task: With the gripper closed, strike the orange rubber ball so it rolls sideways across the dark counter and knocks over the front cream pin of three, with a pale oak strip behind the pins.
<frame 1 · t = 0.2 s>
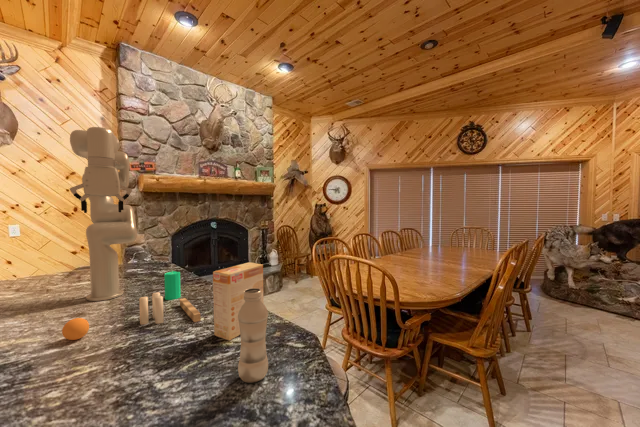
hand: (103, 212, 99), 36 cm above the countertop, tool pointing down, fingers open, 9 cm apart
plastic bottle: (253, 378, 64), on the countertop
front pin: (144, 323, 93), on the countertop
coffeecake box: (240, 329, 89), on the countertop
candle: (172, 298, 118), on the countertop
back wall: (189, 312, 102), on the countertop
ball: (76, 328, 82), on the countertop
back pin near: (159, 322, 94), on the countertop
back pin far: (156, 317, 97), on the countertop
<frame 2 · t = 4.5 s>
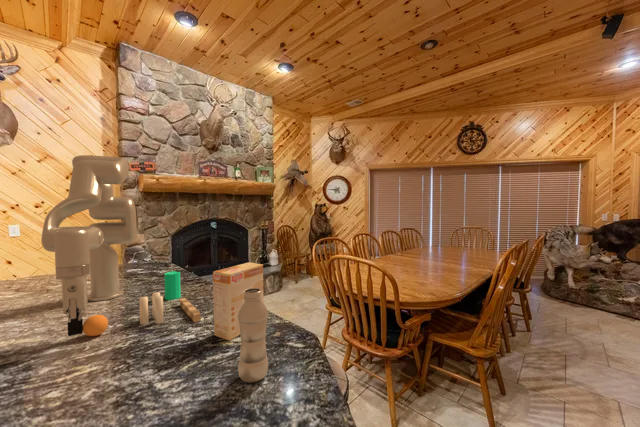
hand: (75, 333, 82), 2 cm above the countertop, tool pointing down, fingers closed
ball: (95, 325, 84), on the countertop
everything else where it was.
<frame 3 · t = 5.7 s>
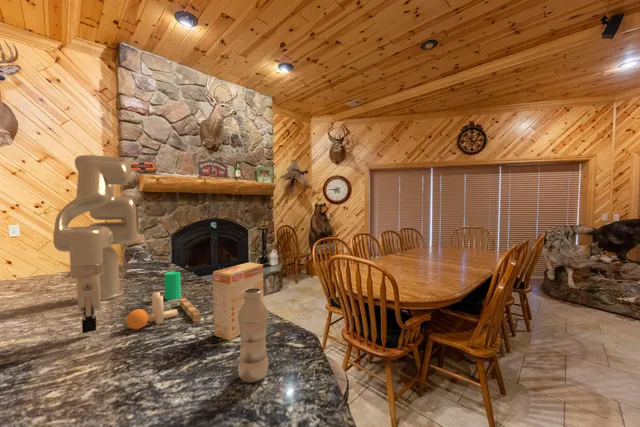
hand: (89, 330, 84), 2 cm above the countertop, tool pointing down, fingers closed
front pin: (148, 318, 94), point 1 cm above the countertop, tilted 90°
ball: (137, 319, 89), on the countertop
everything else where it was.
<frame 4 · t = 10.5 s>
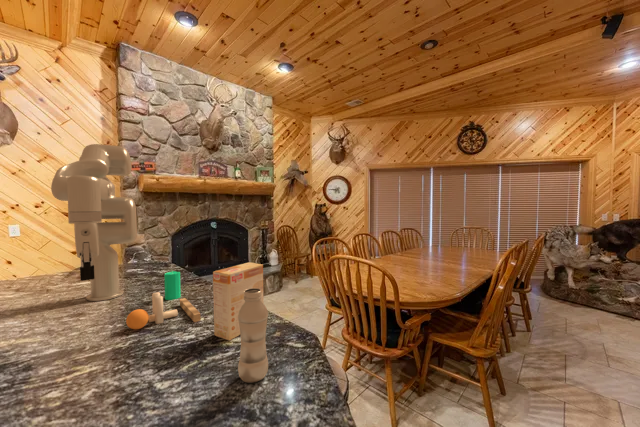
hand: (87, 279, 83), 17 cm above the countertop, tool pointing down, fingers closed
nothing on the countertop moved.
at the end: front pin tilted 90°; front pin never touched the robot; ball moved 15.2 cm from its start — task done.
